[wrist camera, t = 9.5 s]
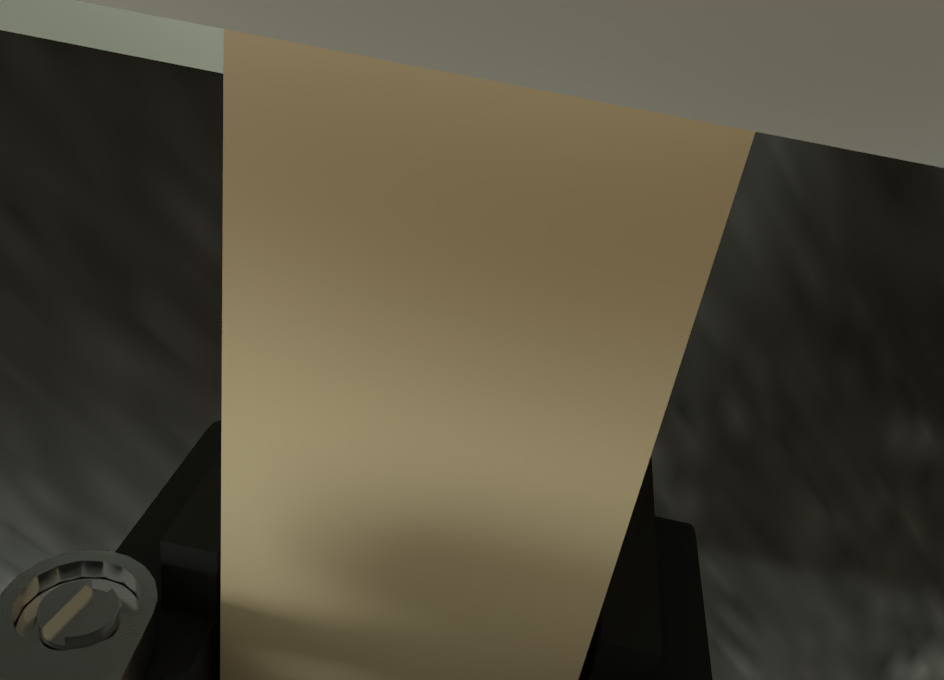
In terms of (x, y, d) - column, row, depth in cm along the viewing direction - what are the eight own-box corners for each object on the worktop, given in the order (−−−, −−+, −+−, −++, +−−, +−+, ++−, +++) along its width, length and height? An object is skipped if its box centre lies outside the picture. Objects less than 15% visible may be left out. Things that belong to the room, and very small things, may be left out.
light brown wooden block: (591, 768, 17) (576, 1175, 12) (243, 685, 17) (78, 1042, 12) (907, -101, 9) (1271, -37, 4) (266, -215, 10) (-156, -290, 4)
